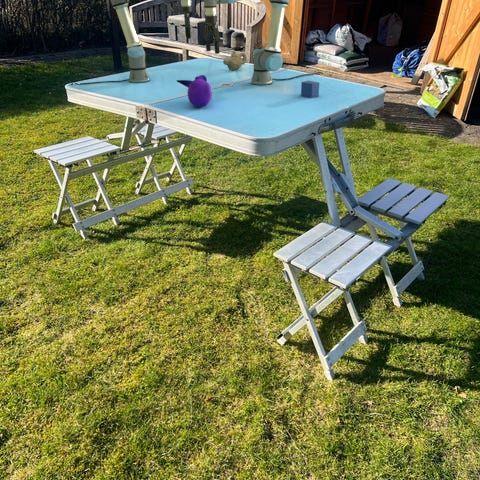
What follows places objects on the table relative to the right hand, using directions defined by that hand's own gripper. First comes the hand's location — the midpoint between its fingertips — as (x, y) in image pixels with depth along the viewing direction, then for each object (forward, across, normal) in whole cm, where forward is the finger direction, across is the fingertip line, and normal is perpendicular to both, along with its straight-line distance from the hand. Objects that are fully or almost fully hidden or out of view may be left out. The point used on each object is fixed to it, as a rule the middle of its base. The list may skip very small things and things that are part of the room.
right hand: (212, 52), depth 287 cm
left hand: (-2, -68, +10) cm, 69 cm away
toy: (+25, +23, -22) cm, 41 cm away
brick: (+26, +40, +48) cm, 68 cm away
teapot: (+26, -68, +49) cm, 88 cm away
